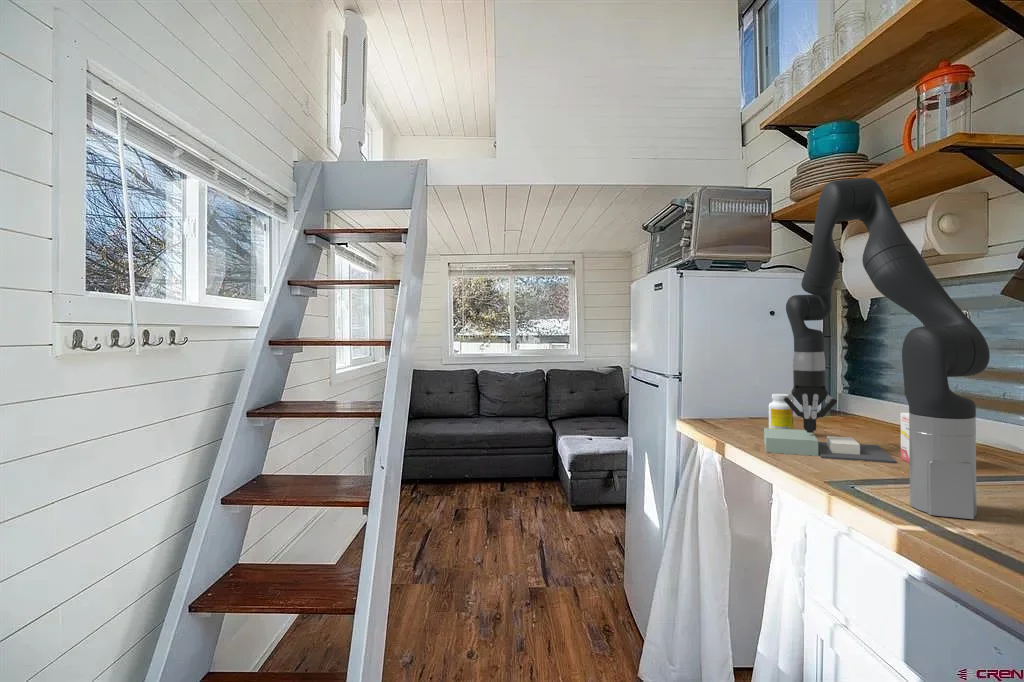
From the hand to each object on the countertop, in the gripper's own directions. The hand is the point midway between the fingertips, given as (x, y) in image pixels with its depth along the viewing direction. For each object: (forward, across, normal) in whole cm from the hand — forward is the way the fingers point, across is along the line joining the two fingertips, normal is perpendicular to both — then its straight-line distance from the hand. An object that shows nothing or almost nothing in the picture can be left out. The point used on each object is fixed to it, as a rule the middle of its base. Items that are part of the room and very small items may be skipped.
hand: (810, 432), depth 138 cm
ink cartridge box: (+5, +22, -8) cm, 24 cm away
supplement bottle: (+5, -6, +16) cm, 18 cm away
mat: (+5, +9, 0) cm, 10 cm away
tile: (+3, +8, 0) cm, 8 cm away
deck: (+5, -5, 0) cm, 7 cm away
